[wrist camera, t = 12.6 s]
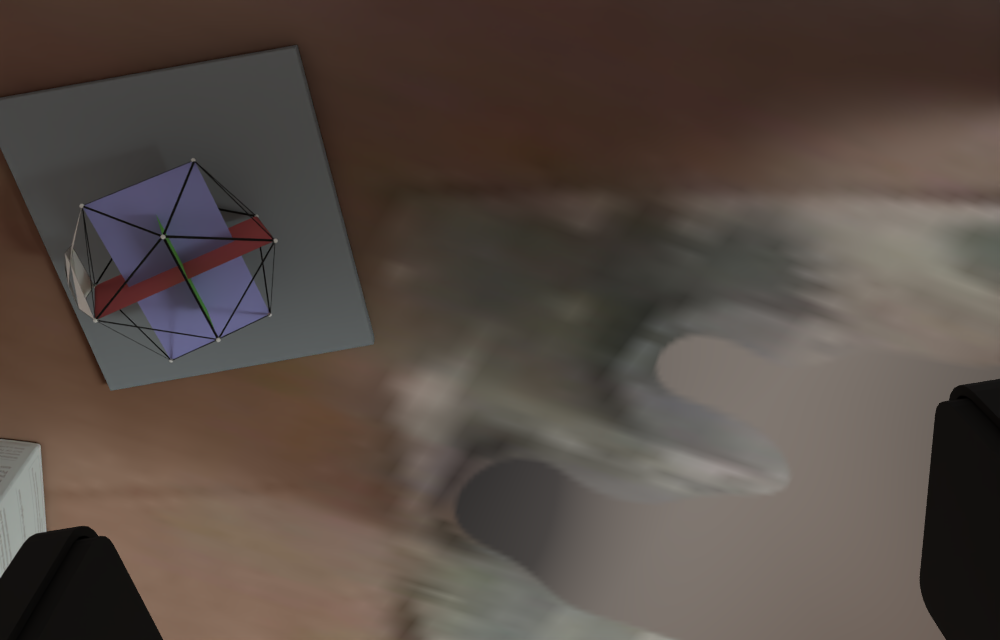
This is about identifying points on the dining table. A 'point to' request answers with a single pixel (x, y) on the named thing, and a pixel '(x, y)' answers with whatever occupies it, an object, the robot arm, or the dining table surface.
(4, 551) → the supplement box
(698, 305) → the dining table surface
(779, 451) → the dining table surface
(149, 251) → the geometric puzzle
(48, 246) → the mat
